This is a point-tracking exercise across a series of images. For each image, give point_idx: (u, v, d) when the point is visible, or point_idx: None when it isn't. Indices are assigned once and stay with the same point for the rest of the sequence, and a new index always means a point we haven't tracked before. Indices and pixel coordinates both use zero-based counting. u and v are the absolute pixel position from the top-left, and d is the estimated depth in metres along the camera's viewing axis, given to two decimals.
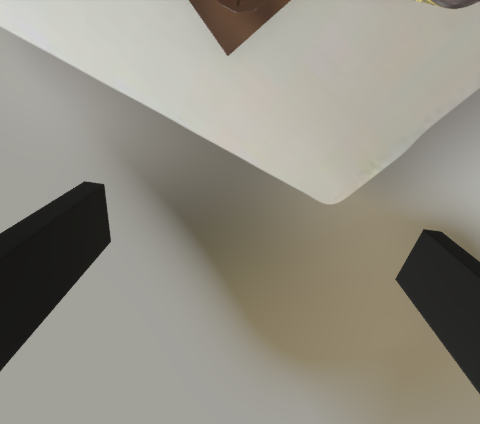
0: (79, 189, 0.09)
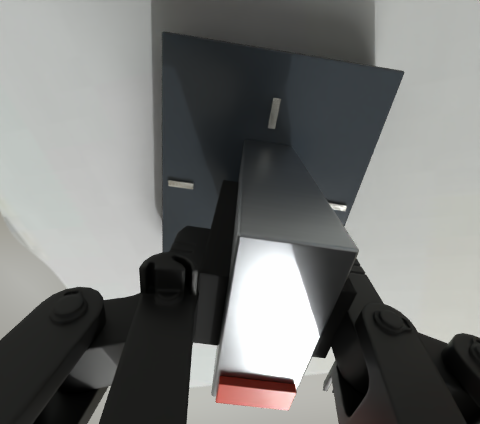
0: (226, 185, 0.11)
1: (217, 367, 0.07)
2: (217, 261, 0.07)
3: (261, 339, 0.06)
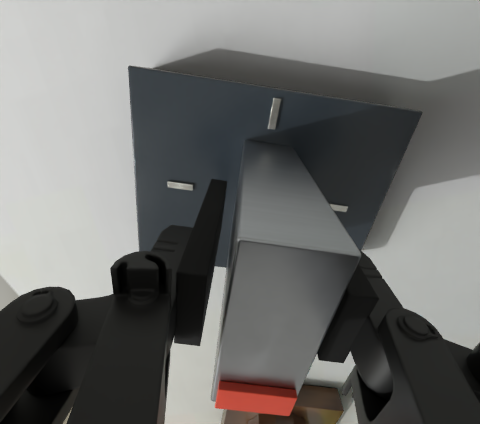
0: (214, 184, 0.11)
1: (216, 372, 0.07)
2: (196, 260, 0.07)
3: (261, 344, 0.06)
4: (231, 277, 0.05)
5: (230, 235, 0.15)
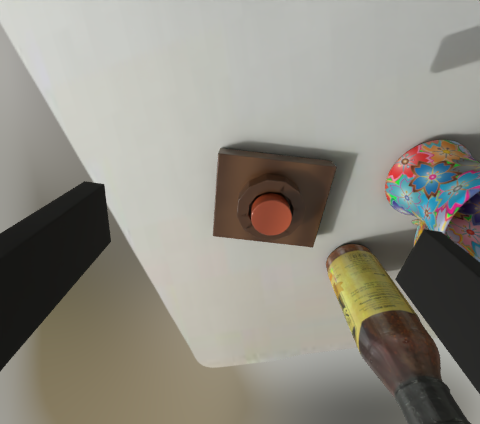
0: (79, 189, 0.09)
1: None
2: None
3: None
4: None
5: None
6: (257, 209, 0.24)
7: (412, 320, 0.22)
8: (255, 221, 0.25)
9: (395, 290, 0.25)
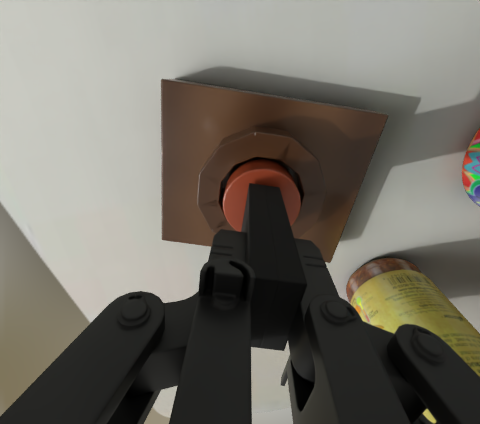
0: (253, 188, 0.11)
1: None
2: (263, 265, 0.07)
3: None
4: None
5: None
6: (234, 187, 0.12)
7: None
8: (230, 211, 0.13)
9: None
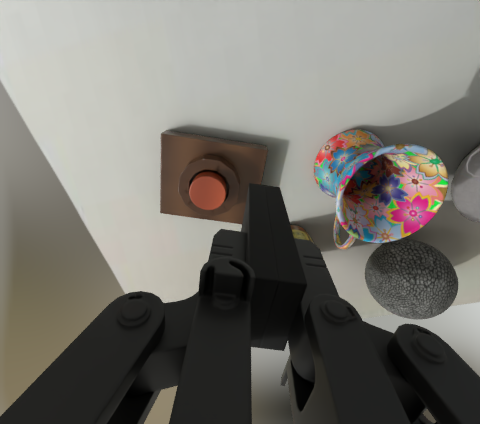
0: (253, 188, 0.11)
1: None
2: (264, 265, 0.07)
3: None
4: None
5: None
6: (194, 184, 0.27)
7: None
8: (193, 196, 0.28)
9: None
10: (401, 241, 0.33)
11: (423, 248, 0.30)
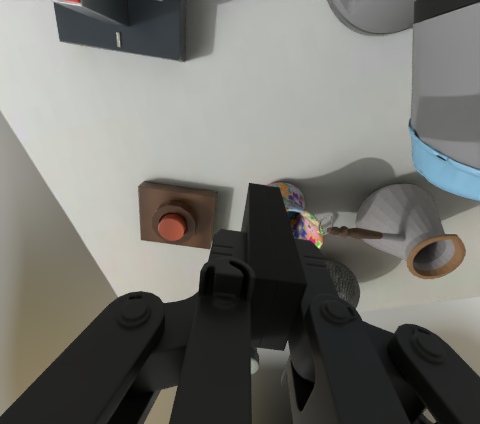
0: (253, 188, 0.11)
1: None
2: (264, 265, 0.07)
3: None
4: None
5: None
6: (161, 223, 0.38)
7: None
8: (161, 231, 0.39)
9: None
10: None
11: (334, 268, 0.41)
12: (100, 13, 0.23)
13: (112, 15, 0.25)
